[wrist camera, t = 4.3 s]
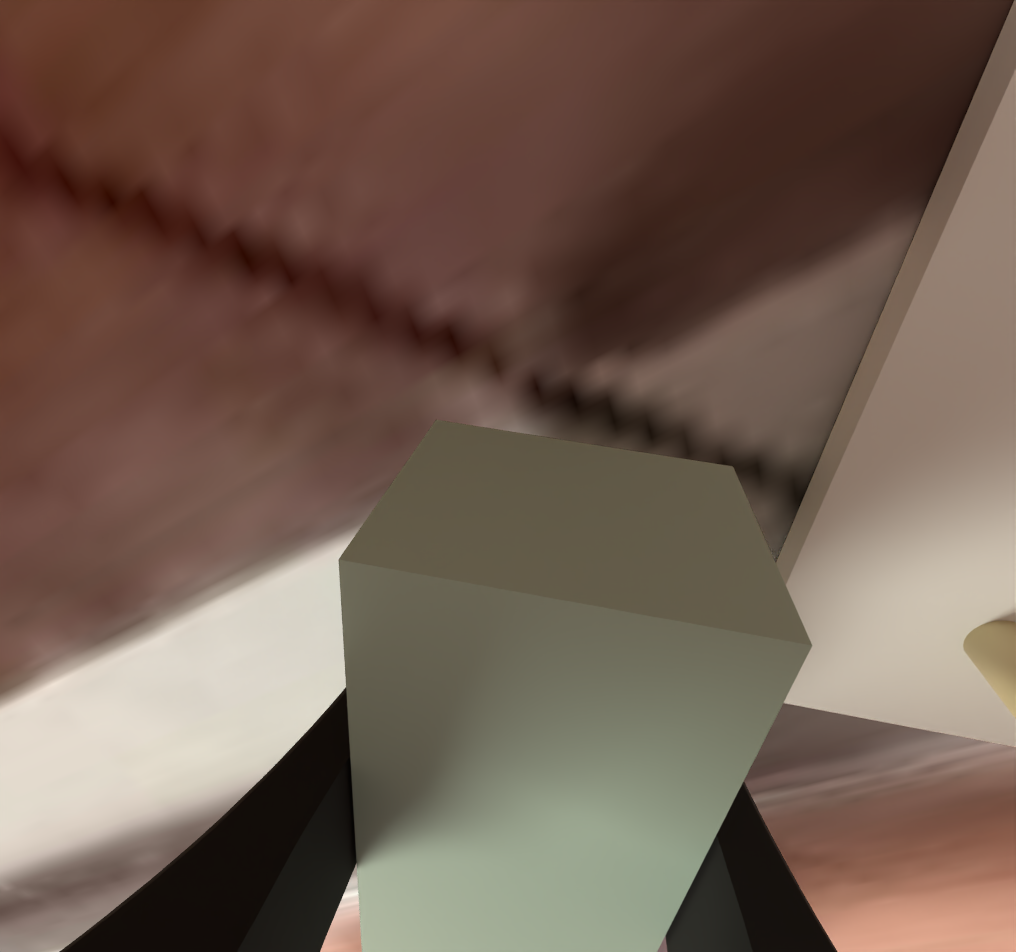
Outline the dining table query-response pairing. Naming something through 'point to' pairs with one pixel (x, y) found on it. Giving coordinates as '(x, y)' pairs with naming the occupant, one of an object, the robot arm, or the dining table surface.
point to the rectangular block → (552, 689)
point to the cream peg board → (927, 467)
